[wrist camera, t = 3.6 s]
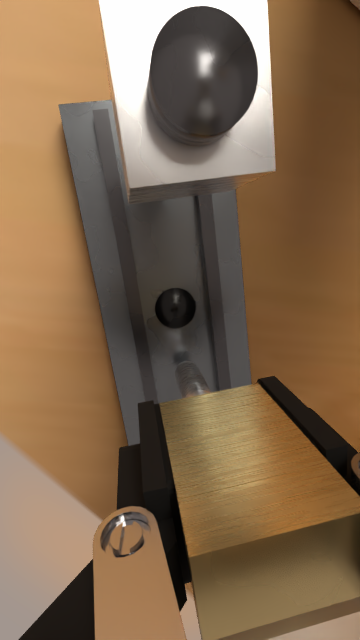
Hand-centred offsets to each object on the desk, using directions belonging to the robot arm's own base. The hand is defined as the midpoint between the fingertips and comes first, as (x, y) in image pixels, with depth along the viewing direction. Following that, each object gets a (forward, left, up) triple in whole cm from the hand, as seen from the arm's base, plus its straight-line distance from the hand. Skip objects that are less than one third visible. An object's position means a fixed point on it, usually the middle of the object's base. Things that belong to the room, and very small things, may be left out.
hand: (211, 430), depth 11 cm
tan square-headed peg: (0, 0, -5) cm, 5 cm away
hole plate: (-3, 0, -7) cm, 8 cm away
